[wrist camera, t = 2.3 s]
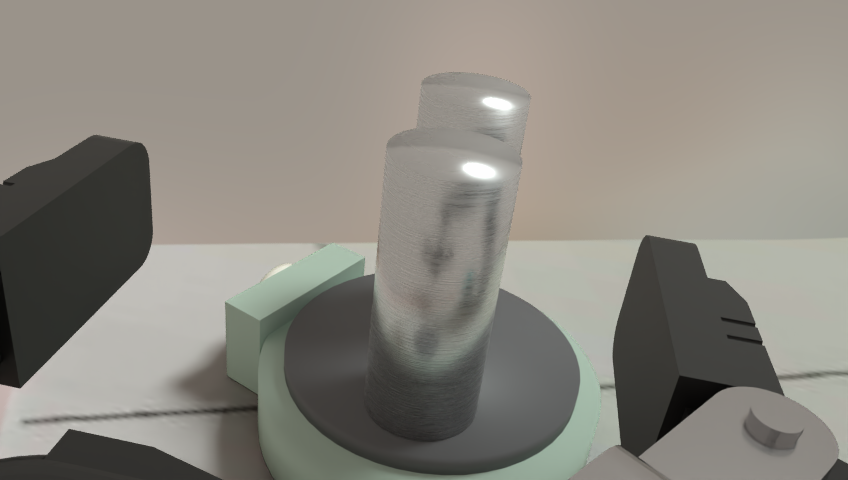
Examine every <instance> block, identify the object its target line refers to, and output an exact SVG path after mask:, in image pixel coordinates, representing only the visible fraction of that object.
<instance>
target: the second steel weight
mask: <svg viewBox="0 0 848 480" xmlns="http://www.w3.org/2000/svg"><path fill="white" fill-rule="evenodd" d="M530 99H531V96H530V94H529V93H528V91H527V90H525V89H524V88H523V87H521V86H519V85H517V84H515V83H513V82H510V81H507V80H504V79H501V78H497V77H493V76H488V75H482V74H475V73H463V72H462V73H460V72H449V73H439V74H435V75H431V76H428V77H426V78H425V79H424V80H423V81H422V83H421V92H420V101H419V110H418V119H417V128H427V127H444V128H456V129H463V130H468V131H473V132H477V133H481V134H484V135H488V136H490V137H493V138H496V139H498V140H500V141H502V142H504V143H506V144H508V145H509V146H511V147H512V148H513V149H515V150H516V151H517V152H518V153H519V155H520V154H521V149H522V143H523V138H524V132H525V127H526V121H527V115H528V110H529V105H530ZM417 128H416V129H417Z"/></svg>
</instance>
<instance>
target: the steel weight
mask: <svg viewBox="0 0 848 480" xmlns="http://www.w3.org/2000/svg"><path fill="white" fill-rule="evenodd" d="M521 169H522V158H521V157H520V155H519V153H518V152H517V151H516V150H515V149H513V148H512V147H511V146H509V145H508V144H506V143H504V142H502V141H500V140H498V139H496V138H493V137H490V136H488V135H484V134H481V133H477V132H473V131H468V130H463V129H456V128H444V127H427V128H417V129H411V130H407V131H404V132H401V133H399V134H396V135H395V136H393V137H392V138H391V139H390V140H389V141H388V143H387V147H386V158H385V169H384V180H383V192H382V202H381V214H380V225H379V236H378V247H377V258H376V269H375V280H374V291H373V302H372V314H371V325H370V336H369V347H368V358H367V369H366V380H365V391H364V405H365V408H366V411H367V413H368V415H369V416H370V418H371V419H372V420H373V421H374V422H375V423H376V424H377V425H378V426H379V427H380V428H382V429H383V430H385V431H386V432H388V433H390V434H392V435H394V436H397V437H399V438H402V439H406V440H410V441H416V442H437V441H442V440H447V439H450V438H453V437H455V436H457V435H459V434H461V433H462V432H464V431H465V430H466V429H467V428H468V427H469V426H470V425H471V424H472V422H473V420H474V418H475V415H476V411H477V406H478V400H479V395H480V389H481V384H482V379H483V373H484V368H485V362H486V357H487V352H488V346H489V341H490V336H491V330H492V325H493V319H494V314H495V309H496V303H497V298H498V293H499V287H500V282H501V276H502V271H503V266H504V260H505V255H506V249H507V244H508V238H509V233H510V228H511V223H512V217H513V212H514V206H515V201H516V195H517V190H518V185H519V179H520V174H521Z"/></svg>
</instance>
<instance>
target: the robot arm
mask: <svg viewBox="0 0 848 480" xmlns="http://www.w3.org/2000/svg"><path fill="white" fill-rule="evenodd" d="M152 235H153V226H152V209H151V189H150V170H149V158H148V153H147V150H146V148H145V147H144V146H143V144H141V143H138V142H132V141H127V140H121V139H116V138H110V137H105V136H99V135H93V136H91V137H89V138H87V139H86V140H84V141H82V142H81V143H79V144H78V145H76V146H74V147H73V148H71V149H70V150H68V151H66V152H65V153H63V154H62V155H60V156H58V157H57V158H55V159H52V160H49V161H46V162H42V163H40V164H36V165H33V166H29V167H26V168H25V169H23V170H21V171H20V172H18V173H16V174H15V175H13V176H11V177H10V178H8V179H7V180H5V181H4V182H3V185H1V184H0V384H2V385H7V386H11V387H16V388H21V387H22V386H23V385H24V384H25V383H26V382H27V381H28V380H29V379H30V378H31V377H32V376H33V375H34V374H35V373H36V372H37V371H38V370H39V369H40V368H41V367H42V366H43V365H44V364H45V363H46V362H47V361H48V360H49V359H50V358H51V357H52V356H53V355H54V354H55V353H56V352H57V351H58V350H59V349H60V348H61V347H62V346H63V345H64V344H65V343H66V342H67V341H68V340H69V339H70V338H71V337H72V336H73V335H74V334H75V333H76V332H77V331H78V330H79V329H80V328H81V327H82V326H83V325H84V324H85V323H86V322H87V321H88V320H89V319H90V318H91V317H92V316H93V315H94V314H95V313H96V312H97V311H98V310H99V309H100V308H101V307H102V306H103V305H104V304H105V303H106V302H107V300H108V299H109V298H110V297H111V296H112V295H113V294H114V293H115V292H116V291H117V290H118V289H119V288H120V287H121V286H122V285H123V284H124V283H125V282H126V281H127V280H128V279H129V278H130V277H131V276H132V275H133V274H134V273H135V272H136V271H137V270H138V269H139V268H140V267H141V266H142V265H143V263H144V262H145V260H146V258H147V256H148V253H149V250H150V247H151V243H152ZM755 324H756V323H755V321H754V318H753V316H752V313H751V311H750V308H749V306H748V303H747V302H746V301H745V300H744V299H743V298H742V297H741V296H740V295H739V294H738V293H737V292H736V291H735V290H734V289H733V288H732V287H731V286H730V285H729V284H728V283H727V282H726V281H721V280H716V279H710V278H707V275H706V272H705V269H704V266H703V263H702V260H701V257H700V254H699V251H698V248H697V246H696V244H693V243H687V242H682V241H676V240H671V239H665V238H660V237H654V236H648V235H646V236H645V237H644V238H643V240H642V242H641V244H640V247H639V250H638V253H637V257H636V260H635V263H634V267H633V270H632V274H631V277H630V280H629V284H628V287H627V291H626V294H625V297H624V301H623V304H622V308H621V311H620V314H619V318H618V321H617V326H616V330H615V336H614V343H613V367H614V377H615V387H616V398H617V408H618V418H619V428H620V439H621V445H616V446H613V447H611V448H609V449H608V450H606V451H605V452H603V453H602V454H601V455H599V456H598V457H597V458H595V459H594V460H593V461H591V462H590V463H589V464H587V465H586V466H585V467H584V468H582V469H581V470H580V471H578V472H577V473H576V474H574V475H573V476H572V477H570V478H569V479H568V480H848V464H847V463H845V462H843V461H841V460H840V459H838V454H839V449H838V444H837V441H836V439H835V437H834V435H833V433H832V432H831V430H830V429H829V428H828V427H827V426H826V424H825V423H824V422H823V421H822V420H821V419H820V418H818V417H817V416H816V415H815V414H814V413H812V412H811V411H810V410H808V409H807V408H805V407H804V406H802V405H801V404H799V403H797V402H795V401H793V400H791V399H789V398H787V397H785V396H784V393H783V391H782V388H781V386H780V383H779V381H778V378H777V376H776V373H775V371H774V368H773V366H772V363H771V361H770V358H769V356H768V353H767V351H766V348H765V346H762V342H763V341H762V338H761V336H760V333H759V331H758V328H755ZM0 480H222V479H220V478H218V477H216V476H213V475H211V474H209V473H207V472H205V471H203V470H201V469H199V468H197V467H194V466H192V465H190V464H188V463H186V462H184V461H182V460H180V459H177V458H175V457H173V456H171V455H169V454H167V453H165V452H163V451H161V450H158V449H156V448H154V447H151V446H146V445H141V444H137V443H132V442H127V441H123V440H118V439H113V438H109V437H104V436H99V435H95V434H90V433H85V432H81V431H76V430H71V429H69V430H68V431H67V432H66V433H65V434H64V436H63V437H62V438H61V439H60V440H59V442H58V443H57V444H56V445H55V446H54V447H53V449H52V450H51V451H50V452H49V453H48V455H30V456H17V457H10V458H4V459H0Z"/></svg>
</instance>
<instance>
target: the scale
mask: <svg viewBox="0 0 848 480" xmlns="http://www.w3.org/2000/svg"><path fill="white" fill-rule="evenodd" d="M364 266H365V257H363V256H361V255H359V254H357V253H355V252H353V251H350V250H348V249H346V248H344V247H342V246H340V245H337V244H335V243H331V244H329V245H327V246H326V247H324V248H322V249H320V250H318V251H317V252H315V253H313V254H311V255H309V256H307V257H306V258H304V259H302V260H300V261H298V262H296V263H295V264H288V263H287V264H282V265H279V266H277V267H275V268H274V269H272V270H271V271H270V272H269V273H267V274H266V275H265V277H264V278H263V279H262V280H261V281H260V283H258V284H256V285H255V286H253V287H251V288H249V289H247V290H245V291H244V292H242V293H240V294H238V295H236V296H234V297H233V298H231V299H229V300H227V301H225V312H226V355H227V376H228V377H230V378H232V379H233V380H235V381H237V382H238V383H240V384H241V385H243V386H245V387H246V388H248V389H250V390H251V391H253V392H255V393H256V394H258V433H259V443H260V447H261V450H262V454H263V457H264V460H265V462H266V465H267V467H268V469H269V471H270V473H271V475H272V477H273V478H274V479H275V480H568V479H569V478H570V477H572V476H573V475H574V474H576V473H577V472H578V471H580V470H581V469H582V468H584V467H585V465H586V461H587V458H588V454H589V451H590V447H591V444H592V441H593V437H594V434H595V430H596V427H597V423H598V420H599V417H600V408H601V395H600V386H599V383H598V379H597V376H596V372H595V370H594V368H593V366H592V364H591V362H590V360H589V358H588V357H587V355H586V354H585V352H584V351H583V350H582V348H581V347H580V345H579V344H578V343H577V342H576V341H575V340H574V339H573V338H572V336H571V335H570V334H569V333H568V332H567V331H565V330H564V329H563V328H562V327H561V326H560V325H559V324H558V323H556V322H555V321H554V320H552V319H551V318H550V317H548V316H547V315H545V314H544V313H543V312H541V311H539V310H538V309H537V308H535V307H534V306H532V305H531V304H529V303H528V302H526V301H524V300H522V299H521V298H519V297H517V296H515V295H513V294H511V293H509V292H507V291H505V290H503V289H500V288H499V293H498V298H497V303H496V309H495V314H494V319H493V325H492V330H491V336H490V341H489V346H488V352H487V357H486V362H485V368H484V373H483V379H482V384H481V389H480V395H479V400H478V406H477V411H476V415H475V418H474V420H473V422H472V424H471V425H470V426H469V427H468V428H467V429H466V430H465V431H464V432H462V433H461V434H459V435H457V436H455V437H453V438H450V439H447V440H442V441H437V442H416V441H410V440H406V439H402V438H399V437H397V436H394V435H392V434H390V433H388V432H386V431H385V430H383V429H382V428H380V427H379V426H378V425H377V424H376V423H375V422H374V421H373V420H372V419H371V418H370V416H369V415H368V413H367V411H366V408H365V405H364V391H365V380H366V369H367V358H368V347H369V336H370V325H371V314H372V302H373V291H374V280H375V274H372V275H367V276H364Z"/></svg>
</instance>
